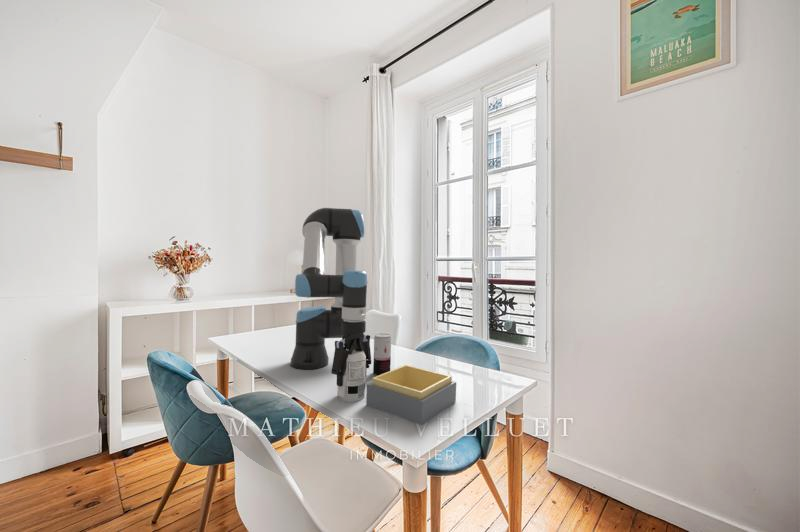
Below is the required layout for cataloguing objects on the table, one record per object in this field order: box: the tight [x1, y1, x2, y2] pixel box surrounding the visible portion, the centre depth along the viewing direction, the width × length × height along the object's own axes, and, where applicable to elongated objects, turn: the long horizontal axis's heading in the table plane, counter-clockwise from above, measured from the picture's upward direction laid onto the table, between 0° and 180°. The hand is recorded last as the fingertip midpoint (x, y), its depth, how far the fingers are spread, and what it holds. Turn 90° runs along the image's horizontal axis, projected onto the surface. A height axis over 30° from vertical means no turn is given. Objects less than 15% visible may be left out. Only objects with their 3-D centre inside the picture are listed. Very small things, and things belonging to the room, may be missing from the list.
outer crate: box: [365, 380, 457, 425], centre depth 108 cm, size 20×20×7 cm
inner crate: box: [371, 364, 453, 400], centre depth 108 cm, size 17×17×8 cm
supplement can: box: [337, 349, 366, 403], centre depth 112 cm, size 8×8×15 cm
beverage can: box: [372, 332, 392, 377], centre depth 137 cm, size 6×7×15 cm
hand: (351, 391), depth 112 cm, fingers closed on supplement can, 8 cm apart
